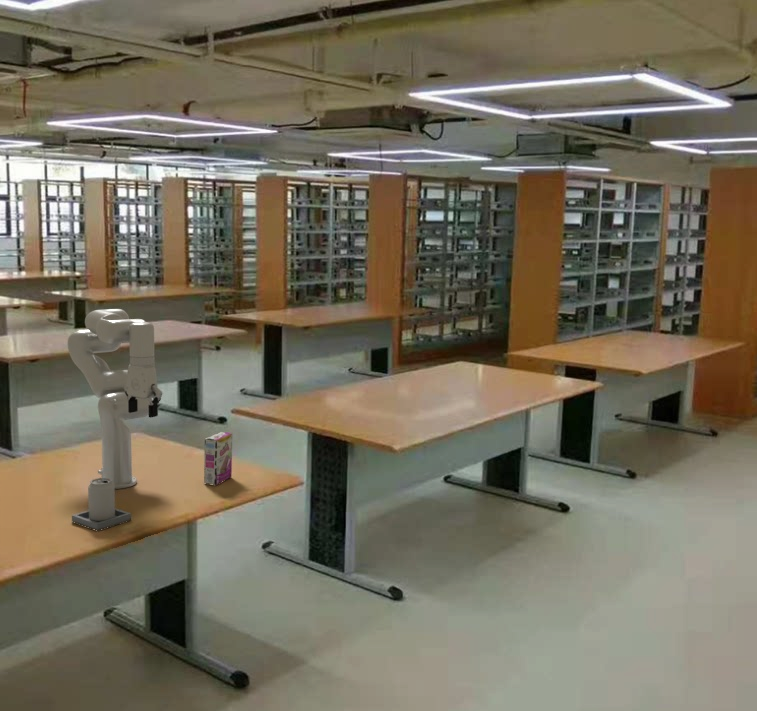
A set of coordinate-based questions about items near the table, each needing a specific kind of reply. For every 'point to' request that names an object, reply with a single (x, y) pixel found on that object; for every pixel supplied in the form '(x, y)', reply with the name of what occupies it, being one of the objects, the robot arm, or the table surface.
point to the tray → (117, 519)
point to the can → (101, 499)
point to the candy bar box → (218, 458)
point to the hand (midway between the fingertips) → (143, 414)
